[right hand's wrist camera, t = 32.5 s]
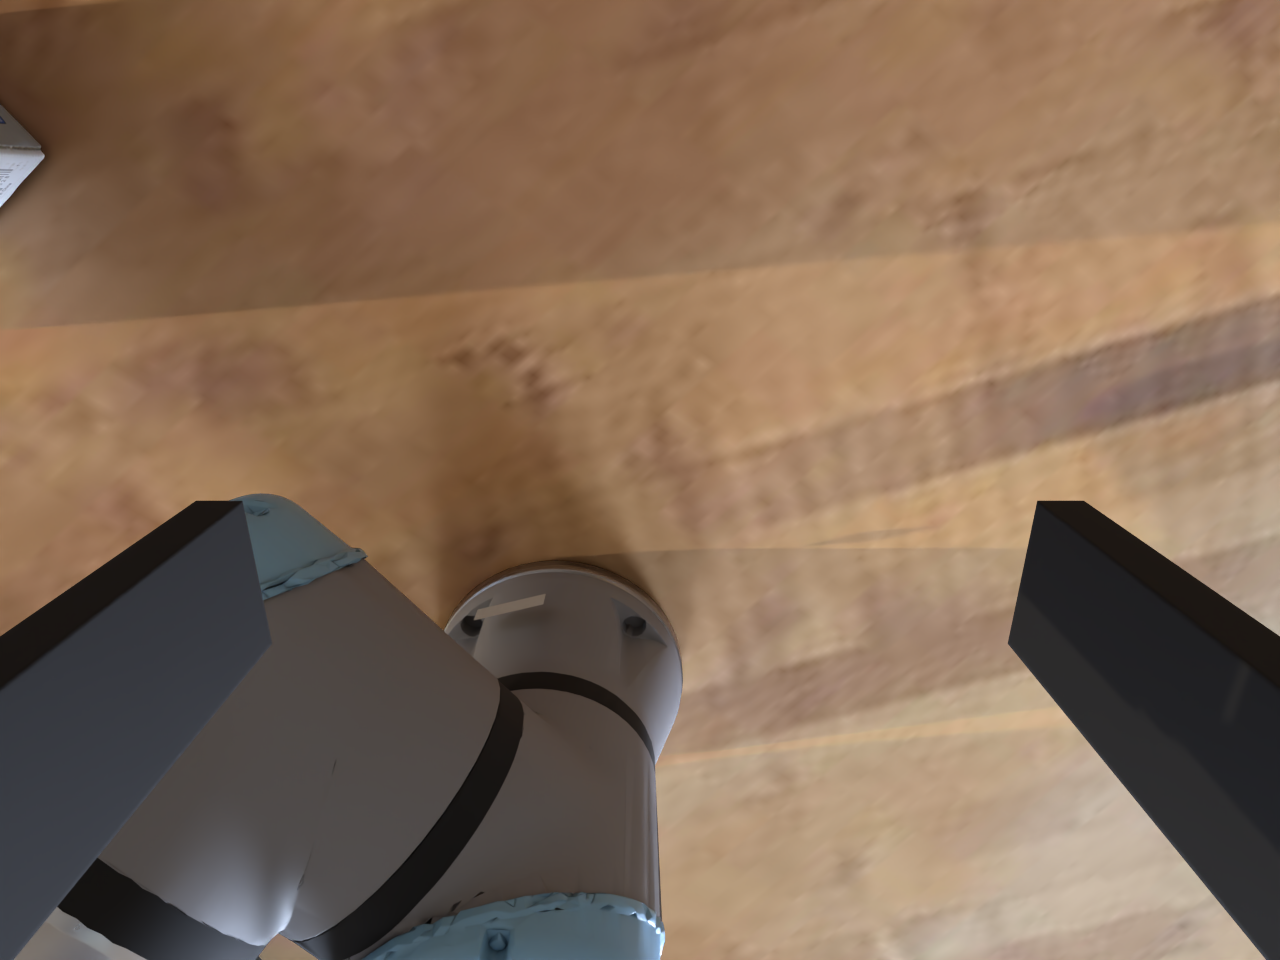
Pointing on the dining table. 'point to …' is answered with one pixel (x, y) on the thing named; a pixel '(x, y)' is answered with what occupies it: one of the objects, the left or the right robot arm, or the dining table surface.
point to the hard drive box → (15, 154)
